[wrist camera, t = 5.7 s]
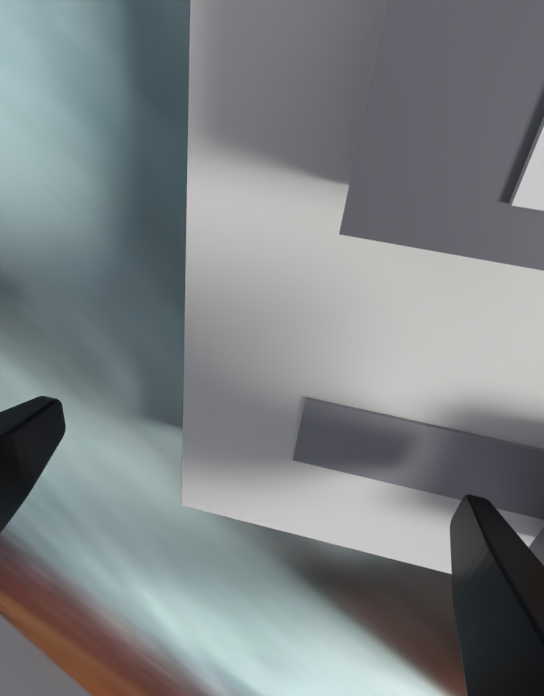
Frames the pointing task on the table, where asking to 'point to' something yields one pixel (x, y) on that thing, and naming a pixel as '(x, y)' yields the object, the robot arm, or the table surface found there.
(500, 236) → the switch middle
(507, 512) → the switch unit
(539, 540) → the switch
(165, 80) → the table surface
